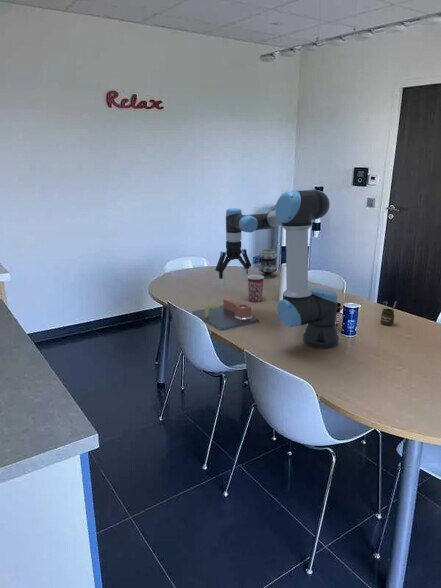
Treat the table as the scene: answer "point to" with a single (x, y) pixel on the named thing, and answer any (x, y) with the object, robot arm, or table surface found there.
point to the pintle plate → (224, 318)
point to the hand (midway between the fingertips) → (233, 282)
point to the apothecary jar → (268, 263)
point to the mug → (255, 287)
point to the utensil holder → (387, 316)
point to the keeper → (209, 306)
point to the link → (237, 308)
